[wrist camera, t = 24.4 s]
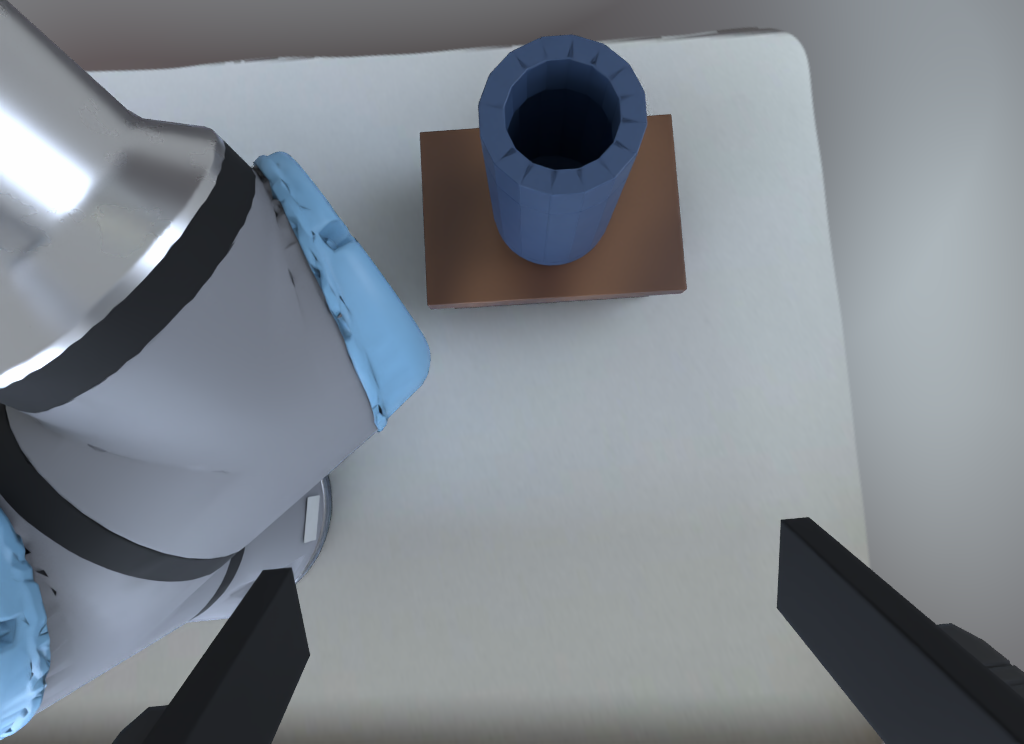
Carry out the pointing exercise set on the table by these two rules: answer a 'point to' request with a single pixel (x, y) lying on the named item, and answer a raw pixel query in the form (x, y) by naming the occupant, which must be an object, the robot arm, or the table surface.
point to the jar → (559, 144)
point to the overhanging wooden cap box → (514, 280)
